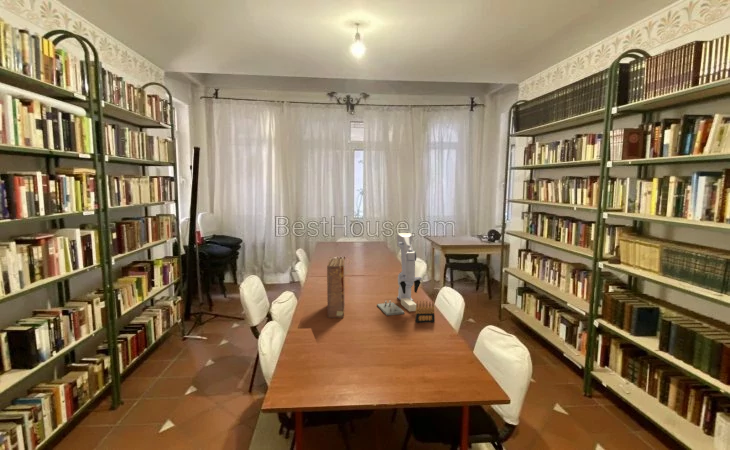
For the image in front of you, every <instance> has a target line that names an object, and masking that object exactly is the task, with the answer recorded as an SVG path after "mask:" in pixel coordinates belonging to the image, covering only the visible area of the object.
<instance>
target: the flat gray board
mask: <svg viewBox="0 0 730 450" xmlns="http://www.w3.org/2000/svg"><path fill="white" fill-rule="evenodd" d="M387 301H388V302H387ZM376 306H377V308H378V309H380V310H381V312H383V314H385V316H396V315H405V311H404V310H403V309H402V308H401V307H400V306H398V305H397V304H396V303H395V302H392V300H391V299H389V300H385V301H384V303H383V302H382V303H377V304H376Z"/></svg>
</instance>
